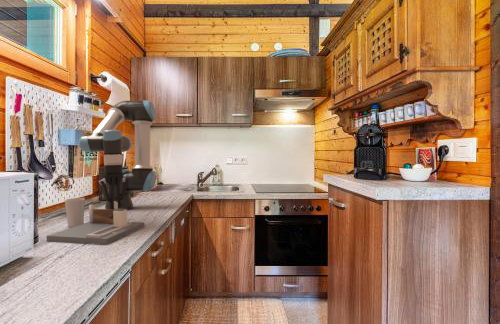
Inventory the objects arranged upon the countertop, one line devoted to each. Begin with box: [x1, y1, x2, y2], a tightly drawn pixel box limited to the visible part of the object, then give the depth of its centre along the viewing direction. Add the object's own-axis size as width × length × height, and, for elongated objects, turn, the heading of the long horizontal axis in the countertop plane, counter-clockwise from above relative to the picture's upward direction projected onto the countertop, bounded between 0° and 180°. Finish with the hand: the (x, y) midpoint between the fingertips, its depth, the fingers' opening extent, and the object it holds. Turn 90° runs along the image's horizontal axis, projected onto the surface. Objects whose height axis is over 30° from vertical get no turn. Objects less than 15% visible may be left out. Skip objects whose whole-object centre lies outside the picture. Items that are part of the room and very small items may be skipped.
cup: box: [64, 197, 86, 228], centre depth 129 cm, size 8×8×12 cm
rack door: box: [94, 208, 115, 224], centre depth 122 cm, size 2×12×6 cm, turn 78°
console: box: [46, 204, 145, 245], centre depth 115 cm, size 24×26×10 cm
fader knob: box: [113, 208, 128, 228], centre depth 117 cm, size 4×4×7 cm
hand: (114, 215), depth 126 cm, fingers closed
